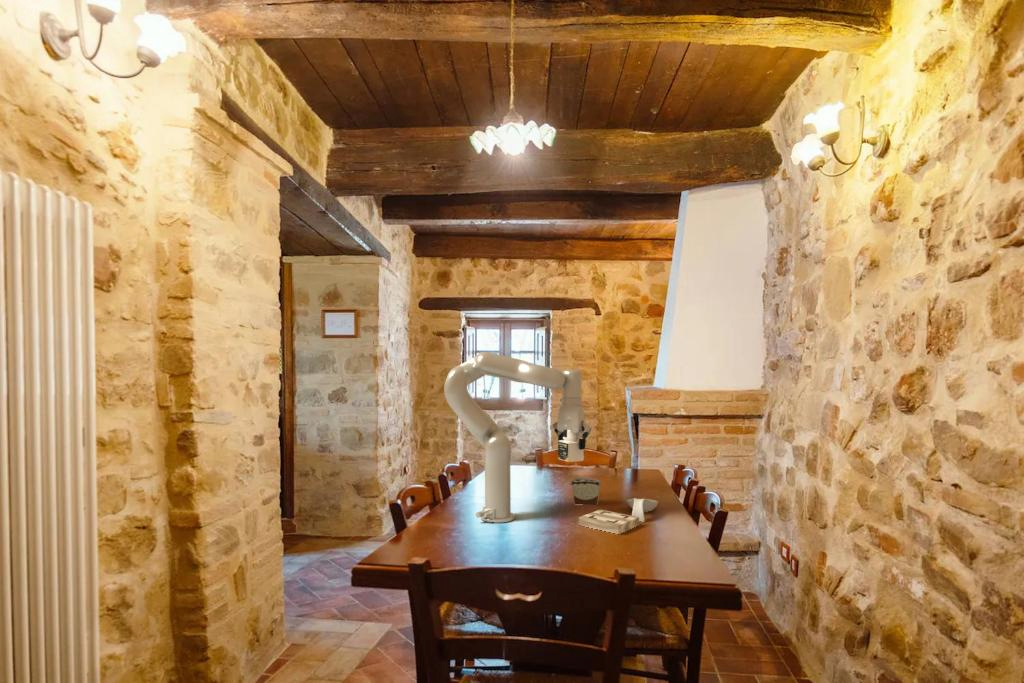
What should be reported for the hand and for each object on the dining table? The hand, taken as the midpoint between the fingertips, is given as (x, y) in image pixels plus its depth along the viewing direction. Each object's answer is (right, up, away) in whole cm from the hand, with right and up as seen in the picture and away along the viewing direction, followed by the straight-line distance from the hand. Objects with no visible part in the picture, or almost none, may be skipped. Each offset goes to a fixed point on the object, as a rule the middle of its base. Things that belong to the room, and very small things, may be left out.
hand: (571, 447), depth 207 cm
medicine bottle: (0, -5, 0) cm, 5 cm away
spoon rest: (+27, -26, +2) cm, 37 cm away
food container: (+8, -27, +18) cm, 33 cm away
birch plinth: (+12, -25, -14) cm, 31 cm away
